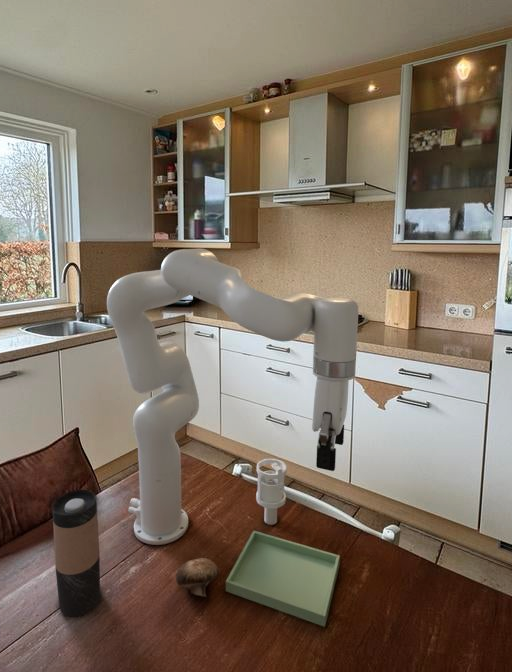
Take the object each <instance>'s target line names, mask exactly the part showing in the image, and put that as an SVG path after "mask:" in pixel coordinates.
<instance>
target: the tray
mask: <svg viewBox="0 0 512 672" xmlns="http://www.w3.org/2000/svg"><path fill="white" fill-rule="evenodd" d="M340 563H341V555H339V554H336V553H332V552H330V551H325V550H321V549H318V548H316V547H311V546H308V545H305V544H301V543H298V542H295V541H291V540H287V539H285V538H280V537H277V536H274V535H270V534H268V533H263V532H260V531H257V530H253V531H252V533H251V535H250V536H249V537H248V540H247V541H246V544H245V545H244V547H243V549H242V550H241V553H240V554H239V556H238V558H237V559H236V562H235V563H234V565H233V567H232V569H231V571H230V573H229V574H228V577H226V580H225V592H227V593H230V594H232V595H234V596H238V597H241V598H243V599H246V600H249V601H252V602H255V603H257V604H259V605H262V606H266V607H269V608H272V609H273V610H277V611H278V612H283V613H285V614H287V615H291V616H293V617H295V618H298V619H301V620H305V621H307V622H310V623H313V624H315V625H318V626H321V627H324V628H325V627H326V625H327V621H328V616H329V611H330V607H331V604H332V599H333V595H334V590H335V586H336V582H337V577H338V573H339V568H340V565H341V564H340Z"/></svg>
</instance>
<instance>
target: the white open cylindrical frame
mask: <svg viewBox="0 0 512 672" xmlns="http://www.w3.org/2000/svg"><path fill="white" fill-rule="evenodd" d="M265 465H270V466H271V468H272V469H274V470H265V471H263V470H261V469H260V468H262V467H263V466H265ZM255 470H256V473H257V491H256V493H255V500H256V503H257V504H258V505H259V506H261V507H263V508H264V513H263V514H264V515H263V516H264V517H263V519H264V520H263V521H264V523H265V524H267V525H269V526H273V525H276V524H277V522H278V509H279V508H281V507H283V506H284V505H285V504H286V502H287V493H286V492H285V479H286V478H285V476H286V475H287V464H286V463H285V462H284V461H282V460H280V459H277V458H263V459H261V460H259V461H258V462H257V463H256V469H255Z"/></svg>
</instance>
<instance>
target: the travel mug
mask: <svg viewBox="0 0 512 672" xmlns="http://www.w3.org/2000/svg"><path fill="white" fill-rule="evenodd" d="M98 519H99V518H98V503H97V496H96V494H95V493H94V492H93V491H91V490H88V489H75V490H71V491H68V492H66V493H63V494H62V495H60V496H59V497H58V498H56V499H55V501H54V502H53V504H52V527H53V528H52V529H53V548H54V563H55V564H54V567H55V576H56V577H55V578H56V587H57V596H58V597H57V598H58V606H59V610H60V612H61V613H62V614H63V615H64V616H66V617H72V618H73V617H75V618H76V617H79V616H83V615H85V614H87V613H89V612H90V611H91V610H93V609H94V608H95V607H96V605H97V604H98V602H99V600H100V595H101V572H100V571H101V570H100V569H101V568H100V566H101V565H100V563H101V561H100V560H101V559H100V556H101V555H100V540H99V538H100V537H99V520H98Z"/></svg>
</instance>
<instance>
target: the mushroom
mask: <svg viewBox="0 0 512 672" xmlns="http://www.w3.org/2000/svg"><path fill="white" fill-rule="evenodd" d="M218 575H219V569H218V566H217V564H215V562H213V561H212V560H211V559H209V558H205V557H199V558H195V559H191V560H188V561H186V562H185V563H183V564H181V566H180V567H179V568H178V570H177V572H176V574H175V581H176V584H177V585H178V586H181V587H185V588H188V589H189V590H190V593H191V594H193V595H194V596H199V597H202V598H207V594H206V587H207V586H208V585H209V584H210V582H212V581H213V580H215V579H216V578H217V576H218Z"/></svg>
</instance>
